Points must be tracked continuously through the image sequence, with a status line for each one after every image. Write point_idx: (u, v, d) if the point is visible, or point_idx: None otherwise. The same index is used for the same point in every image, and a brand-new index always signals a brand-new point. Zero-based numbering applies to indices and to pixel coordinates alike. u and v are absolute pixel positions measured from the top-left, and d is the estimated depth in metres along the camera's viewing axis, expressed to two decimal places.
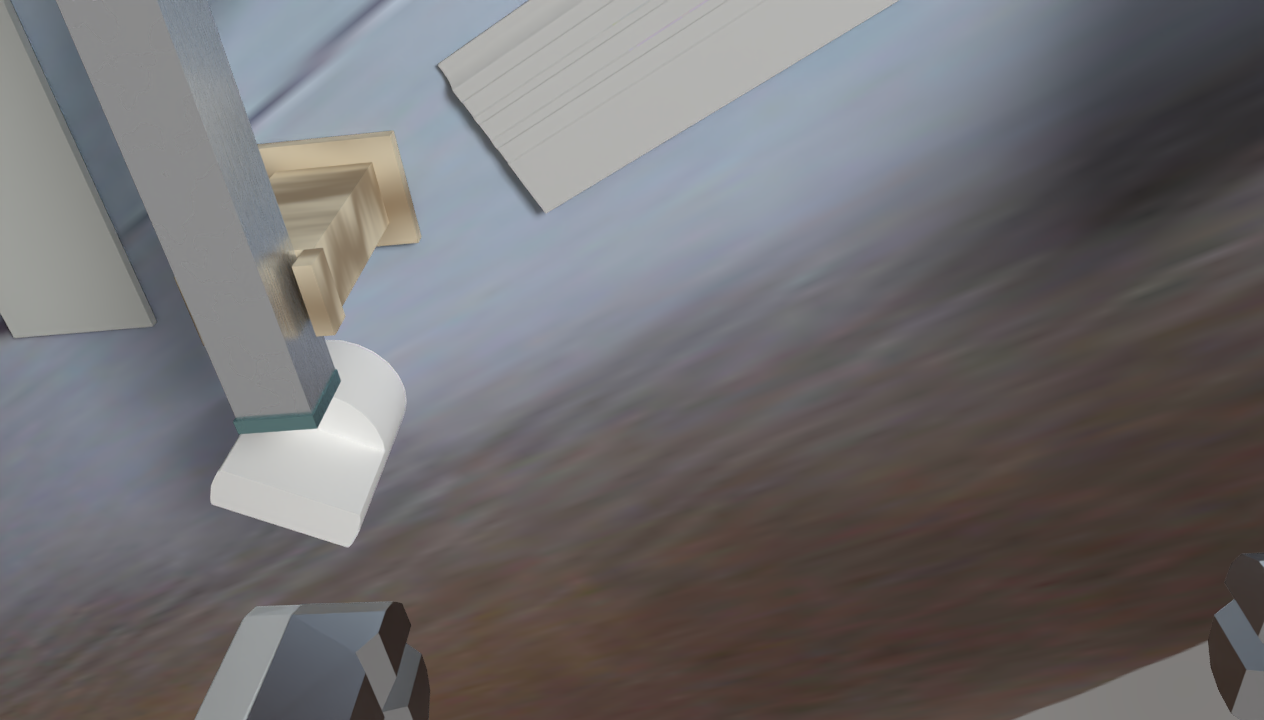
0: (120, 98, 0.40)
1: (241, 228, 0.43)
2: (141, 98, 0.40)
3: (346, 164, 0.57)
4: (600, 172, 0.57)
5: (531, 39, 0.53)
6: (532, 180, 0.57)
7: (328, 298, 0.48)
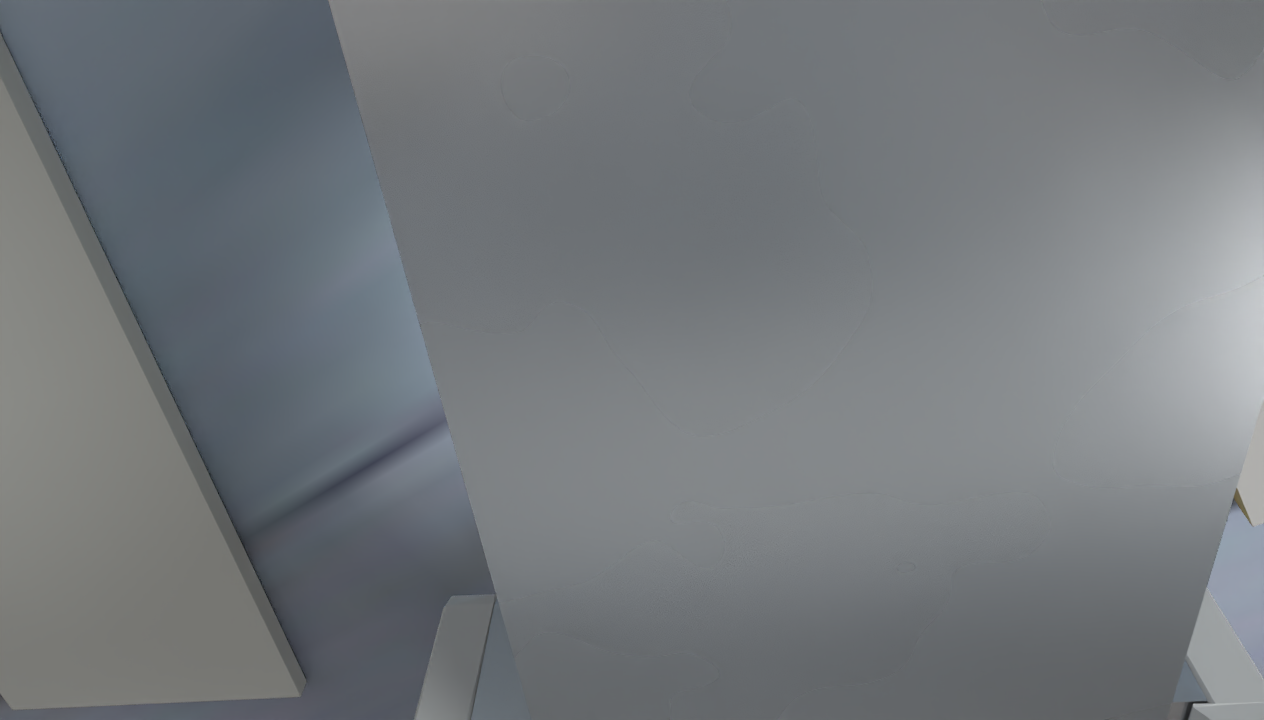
0: (677, 712, 0.06)
1: None
2: (816, 713, 0.06)
3: None
4: None
5: None
6: (1255, 462, 0.24)
7: None
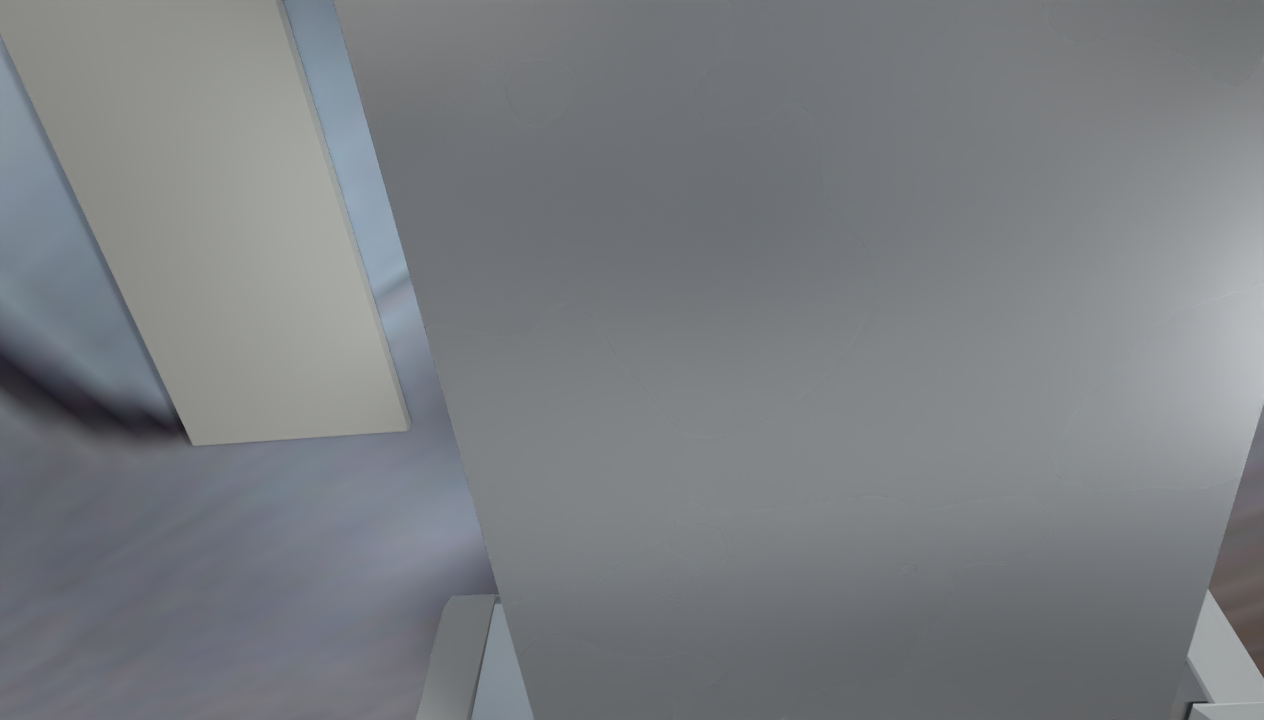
0: (678, 711, 0.06)
1: None
2: (818, 715, 0.06)
3: None
4: None
5: None
6: None
7: None
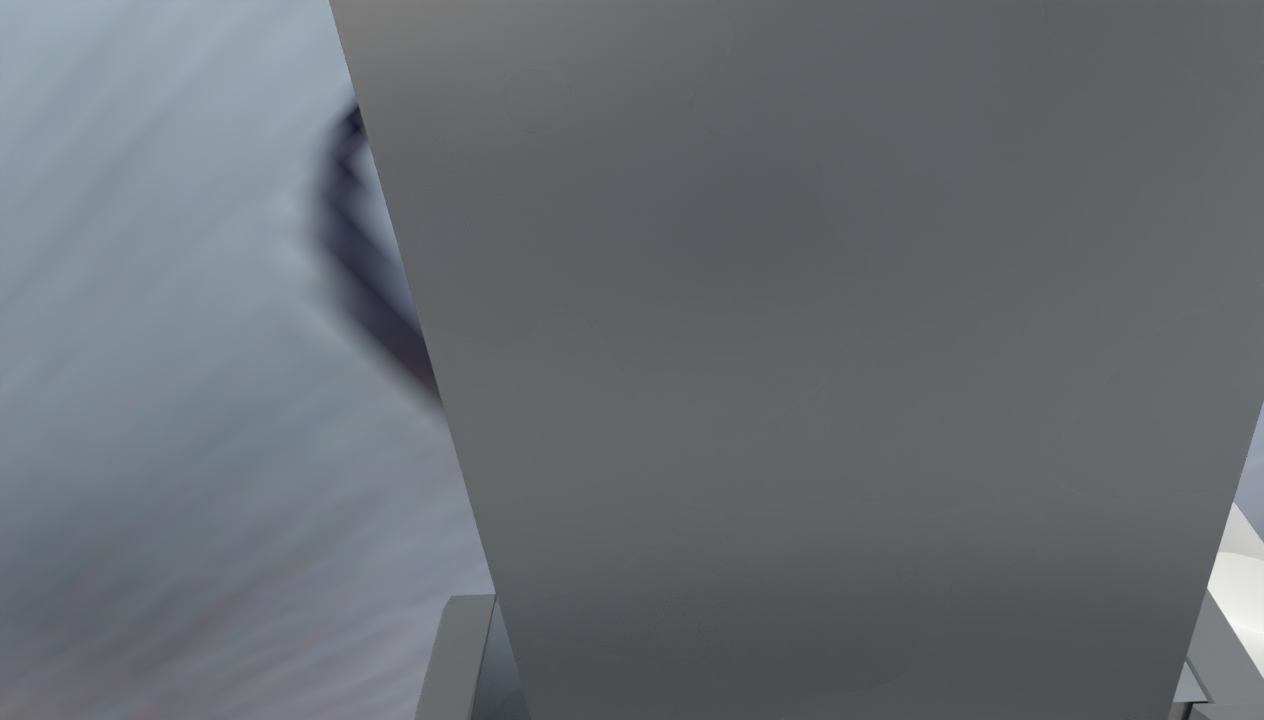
0: (677, 716, 0.06)
1: None
2: (816, 718, 0.06)
3: None
4: None
5: None
6: None
7: None
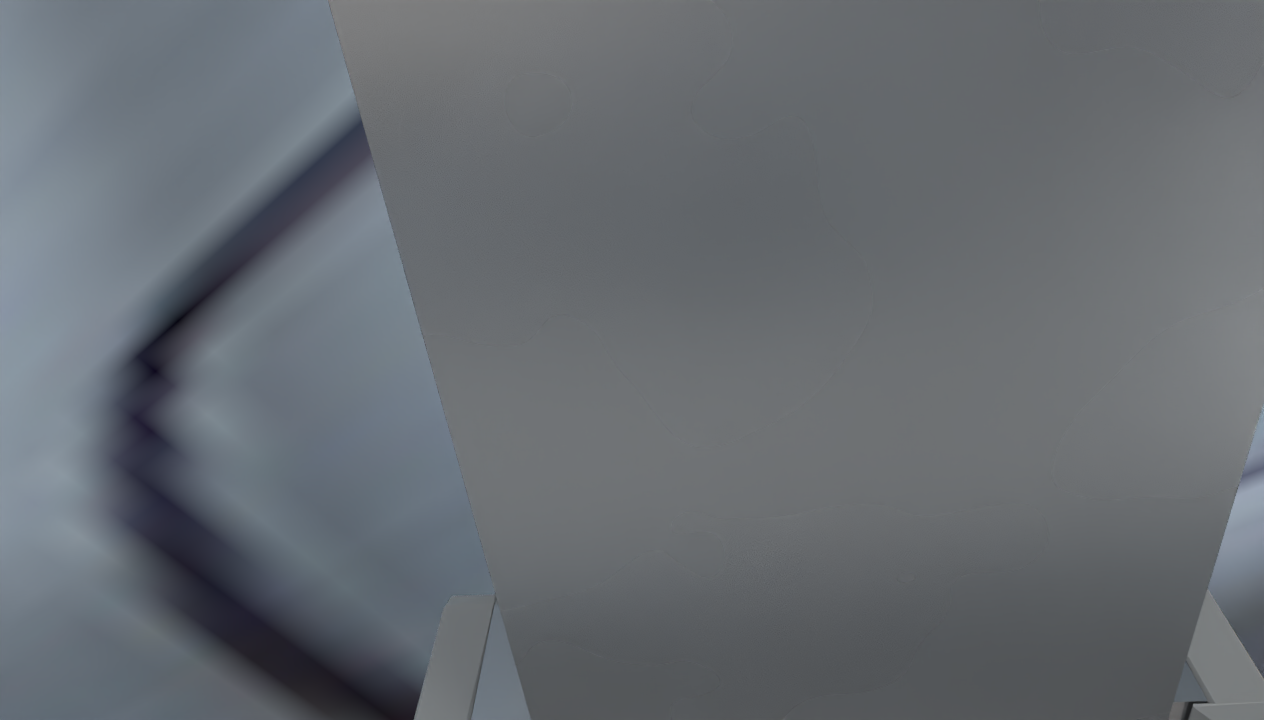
0: (677, 719, 0.06)
1: None
2: None
3: None
4: None
5: None
6: None
7: None
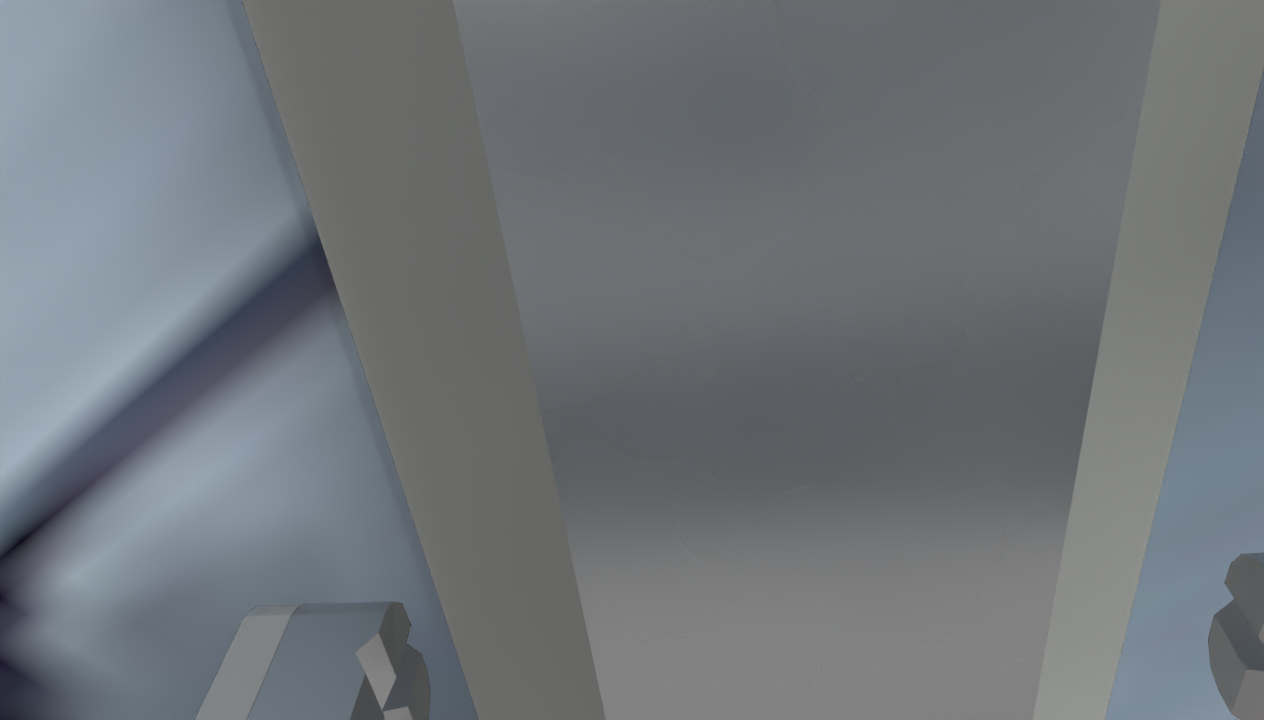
0: (680, 512, 0.08)
1: None
2: (792, 514, 0.08)
3: None
4: None
5: None
6: None
7: None
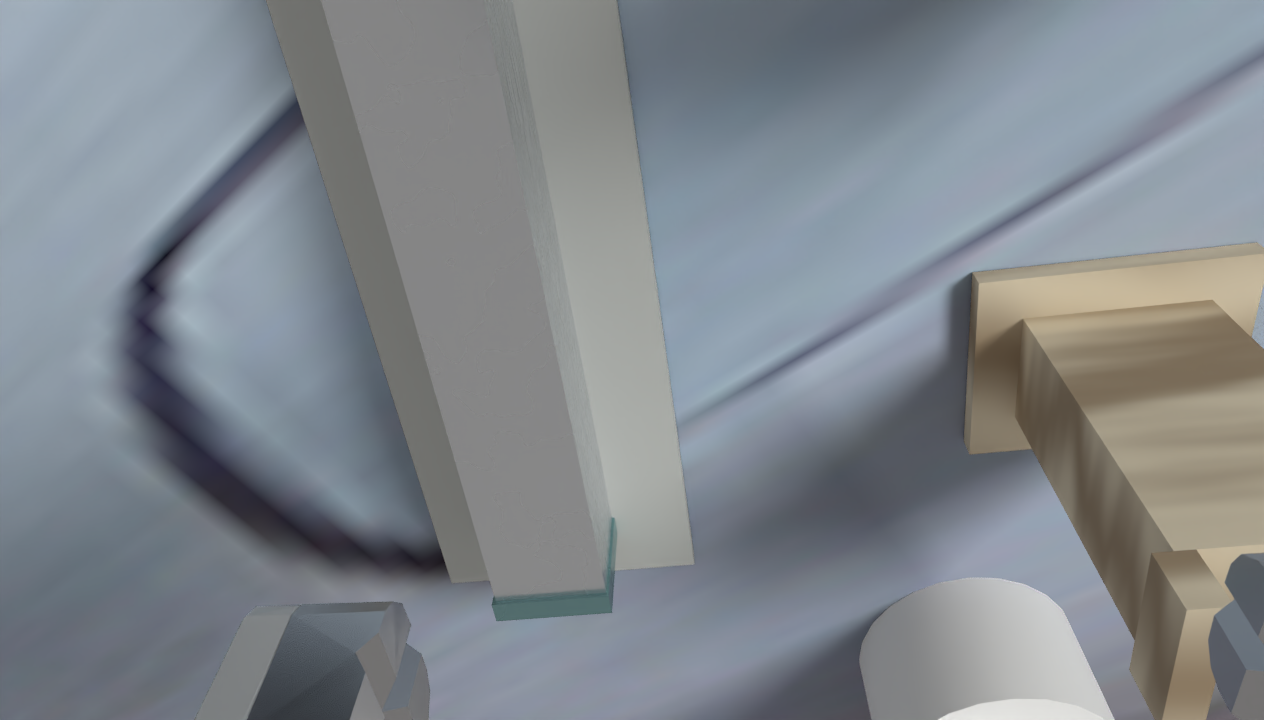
0: (400, 150, 0.26)
1: (552, 340, 0.29)
2: (433, 150, 0.26)
3: (1161, 304, 0.32)
4: None
5: None
6: None
7: None
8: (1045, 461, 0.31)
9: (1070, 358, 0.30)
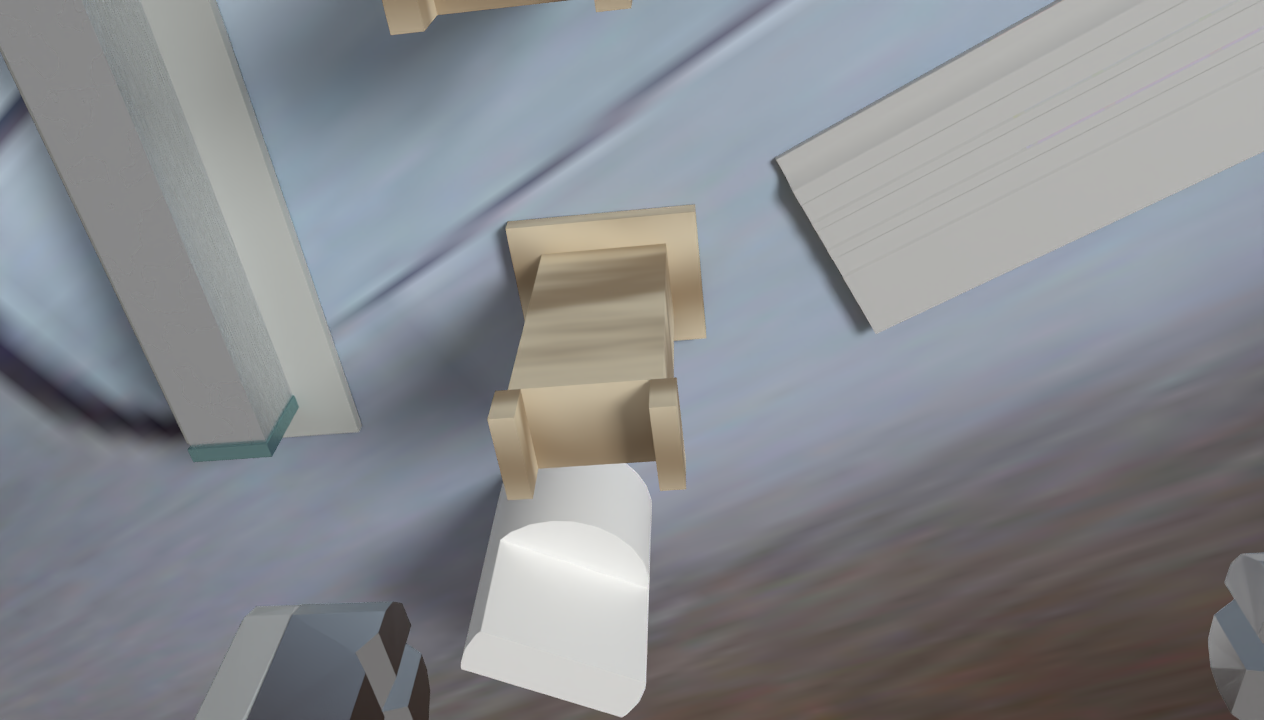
0: (64, 132, 0.40)
1: (189, 260, 0.43)
2: (85, 132, 0.40)
3: (633, 246, 0.46)
4: (955, 288, 0.46)
5: (906, 133, 0.42)
6: (868, 296, 0.47)
7: (681, 443, 0.36)
8: None
9: (548, 280, 0.44)
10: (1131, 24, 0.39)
